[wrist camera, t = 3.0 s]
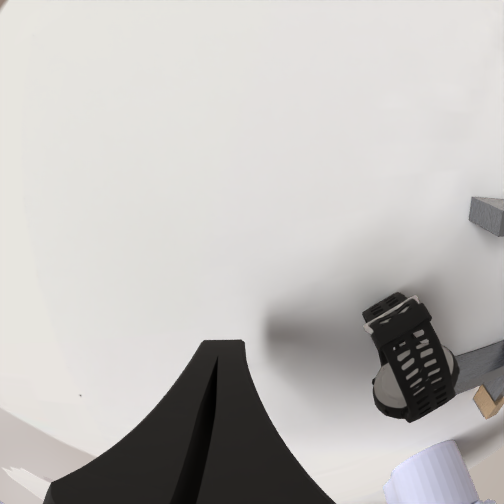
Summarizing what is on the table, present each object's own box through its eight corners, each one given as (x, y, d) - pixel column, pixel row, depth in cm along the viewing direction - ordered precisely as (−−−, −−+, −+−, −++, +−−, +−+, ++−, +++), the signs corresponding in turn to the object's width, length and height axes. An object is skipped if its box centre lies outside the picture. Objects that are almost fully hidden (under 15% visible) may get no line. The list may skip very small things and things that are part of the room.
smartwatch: (342, 363, 12) (371, 452, 8) (342, 265, 10) (396, 356, 6) (419, 343, 12) (464, 417, 7) (434, 247, 10) (511, 314, 5)
